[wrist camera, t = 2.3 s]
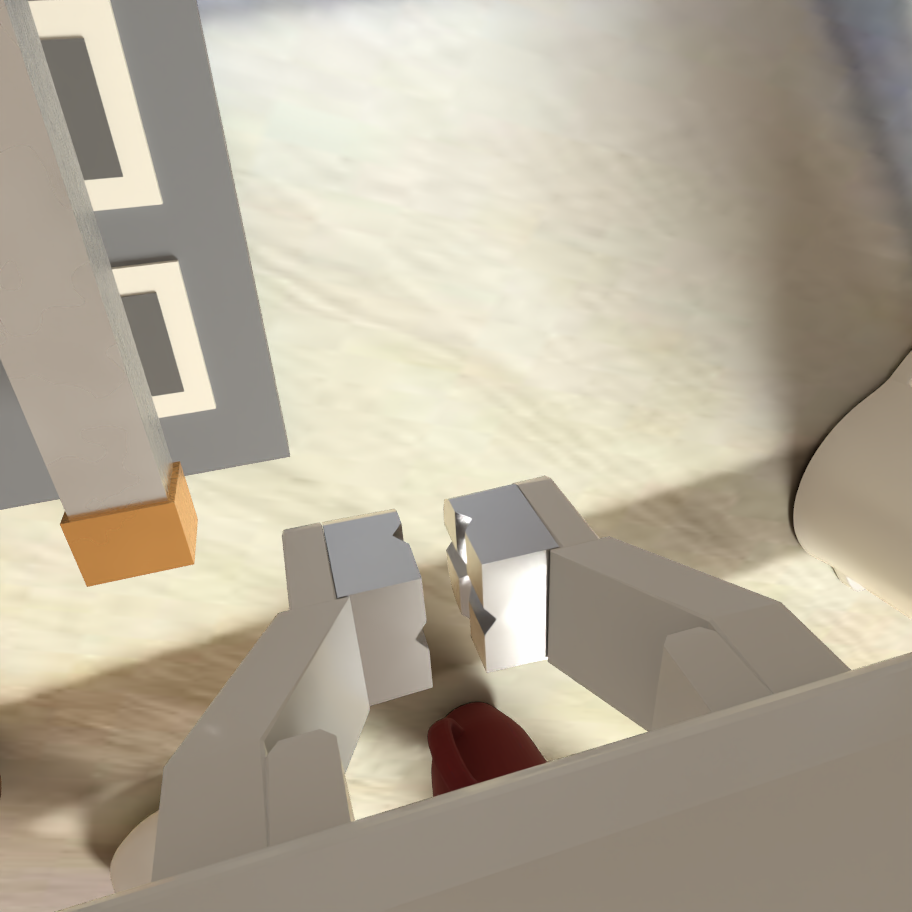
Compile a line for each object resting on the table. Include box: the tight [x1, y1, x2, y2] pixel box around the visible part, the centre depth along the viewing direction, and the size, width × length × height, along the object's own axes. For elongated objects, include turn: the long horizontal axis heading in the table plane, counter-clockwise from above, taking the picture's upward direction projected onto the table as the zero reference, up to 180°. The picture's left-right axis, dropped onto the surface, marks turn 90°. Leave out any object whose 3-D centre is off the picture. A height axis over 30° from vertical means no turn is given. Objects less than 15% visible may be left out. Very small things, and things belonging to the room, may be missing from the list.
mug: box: [428, 702, 547, 797], centre depth 40 cm, size 10×8×10 cm
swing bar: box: [0, 0, 198, 587], centre depth 16 cm, size 4×24×3 cm, turn 3°
